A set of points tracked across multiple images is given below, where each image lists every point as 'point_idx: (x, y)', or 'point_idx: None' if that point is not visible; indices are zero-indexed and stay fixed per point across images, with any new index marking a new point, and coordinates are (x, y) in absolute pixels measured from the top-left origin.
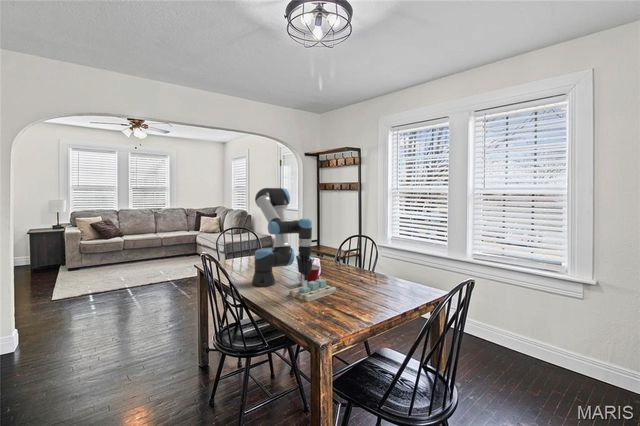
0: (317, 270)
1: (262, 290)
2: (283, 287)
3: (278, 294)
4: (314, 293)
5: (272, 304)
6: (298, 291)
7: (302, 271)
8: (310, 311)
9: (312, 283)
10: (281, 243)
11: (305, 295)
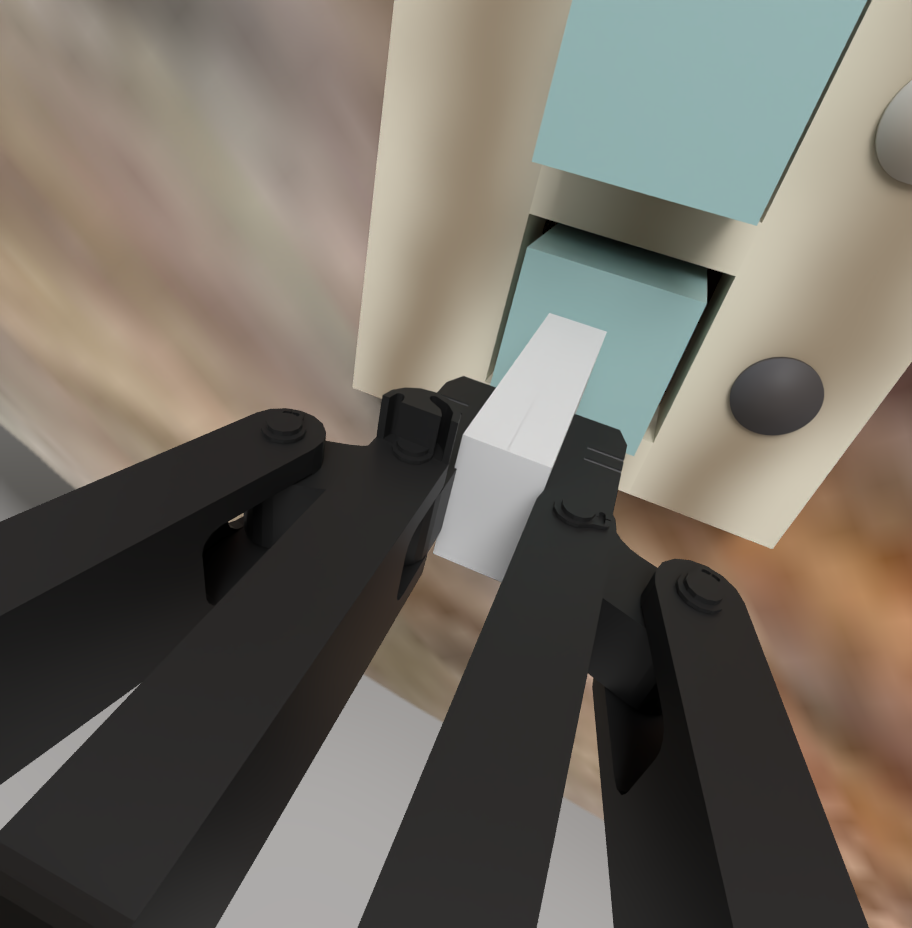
0: None
1: (65, 332)
2: (86, 56)
3: (271, 381)
4: (844, 365)
5: (428, 643)
6: (490, 360)
7: (397, 613)
8: (908, 752)
9: (718, 183)
10: None
11: (703, 516)
